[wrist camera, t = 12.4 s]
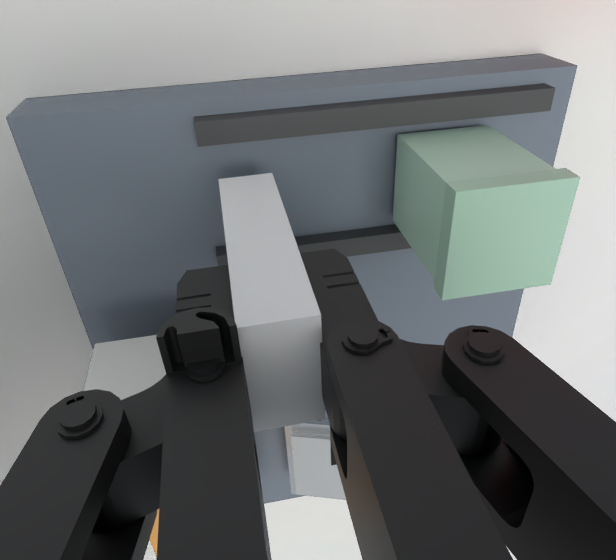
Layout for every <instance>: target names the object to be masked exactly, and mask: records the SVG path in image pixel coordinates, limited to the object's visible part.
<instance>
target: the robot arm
mask: <svg viewBox="0 0 616 560" xmlns="http://www.w3.org/2000/svg"><path fill="white" fill-rule="evenodd" d="M218 180H219V189H220V197H221V206H222V215H223V223H224V232H225V241H226V250H227V258H228V265H222V266H215V267H207V268H200V269H193V270H186V272H185V273H184V275H183V276H182V278H181V279H180V281H179V282H178V283H177V298H176V299H177V301H176V315H175V316H173V317H171V318H169V319H168V320H167V321H166V322H165V323H164V324H163V325H162V326H161V327H160V329H159V331H158V334H157V337H156V340H157V343H158V347H159V350H160V354H161V357H162V361H163V364H164V368H165V371H166V375H165V376H164V377H163V378H162V379H161V380H160V381H158V382H157V383H156V384H154V385H153V386H151V387H150V388H148V389H146V390H144V391H142V392H139V393H137V394H135V395H132V396H130V397H127V398H125V399H123V400H120V398H119V397H117V396H116V395H115V394H113V393H112V392H110V391H105V390H99V389H94V390H87V391H81V392H78V393H76V394H73V395H71V396H68V397H66V398H64V399H62V400H61V401H60V402H58V403H57V404H55V405H54V406H52V407H51V408H50V409H49V410H48V411H47V413H46V414H45V415H44V416H43V417H42V419H41V420H40V421H39V423H38V425H37V426H36V428H35V430H34V431H33V433H32V434H31V436H30V438H29V439H28V441H27V443H26V444H25V446H24V448H23V449H22V451H21V453H20V454H19V456H18V458H17V459H16V461H15V463H14V464H13V466H12V468H11V469H10V471H9V473H8V474H7V476H6V477H5V479H4V481H3V482H2V484H1V486H0V560H143V558H144V555H145V552H146V548H147V545H148V542H149V539H150V535H151V532H152V529H153V526H154V522H155V519H156V516H157V509H159V524H158V543H157V560H271V554H270V546H269V538H268V531H267V523H266V516H265V508H264V501H263V493H262V486H261V478H260V470H259V463H258V455H257V449H256V443H255V436H254V432H258V431H263V430H269V429H274V428H280V427H285V426H290V425H296V424H301V423H307V422H312V421H318V420H323V419H325V408H326V412H327V415H328V419H329V422H330V446H331V466H332V465H337V468H338V471H339V475H340V479H341V482H342V486H343V490H344V493H345V497H346V500H347V504H348V508H349V511H350V515H351V519H352V522H353V526H354V530H355V533H356V537H357V541H358V544H359V548H360V552H361V555H362V559H363V560H513V559H512V557H511V555H510V553H509V551H508V549H507V547H508V548H509V550H510V551H511V552H512V554H513V555H514V556H515V557H516V559H517V560H616V422H615V421H614V420H612V419H611V418H610V417H609V416H608V415H606V414H605V413H604V412H603V411H601V410H600V409H599V408H598V407H596V406H595V405H594V404H593V403H592V402H590V401H589V400H588V399H587V398H585V397H584V396H583V395H582V394H581V393H579V392H578V391H577V390H576V389H574V388H573V387H572V386H571V385H570V384H568V383H567V382H566V381H565V380H563V379H562V378H561V377H560V376H559V375H557V374H556V373H555V372H554V371H552V370H551V369H550V368H549V367H548V366H546V365H545V364H544V363H543V362H541V361H540V360H539V359H538V358H537V357H535V356H534V355H533V354H532V353H530V352H529V351H528V350H527V349H525V348H524V347H523V346H522V345H521V344H519V343H518V342H517V341H516V340H514V339H513V338H512V337H510V336H509V335H507V334H505V333H504V332H502V331H500V330H497V329H494V328H490V327H487V326H476V325H470V326H465V327H460V328H458V329H456V330H454V331H453V332H451V333H449V335H448V337H447V338H446V340H445V342H444V345H434V344H420V343H414V342H408V341H405V340H402V339H399V337H398V335H397V334H396V333H395V332H394V331H393V330H392V328H391V327H389V326H387V325H385V324H383V323H382V322H380V321H378V319H377V317H376V315H375V313H374V311H373V309H372V307H371V305H370V303H369V300H368V298H367V296H366V294H365V292H364V290H363V288H362V286H361V284H359V280H358V278H357V276H356V274H354V270H353V268H352V266H351V264H350V262H349V260H348V258H347V257H345V256H344V255H343V254H341V253H340V252H338V251H337V250H336V249H327V250H319V251H312V252H305V253H300V252H299V249H298V246H297V243H296V240H295V238H294V235H293V232H292V229H291V226H290V223H289V220H288V217H287V214H286V211H285V209H284V206H283V203H282V200H281V197H280V194H279V191H278V188H277V185H276V183H275V180H274V177H273V174H272V173H266V174H257V175H249V176H240V177H232V178H223V179H218ZM506 546H507V547H506Z"/></svg>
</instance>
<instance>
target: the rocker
mask: <svg viewBox="0 0 616 560" xmlns="http://www.w3.org/2000/svg"><path fill="white" fill-rule="evenodd" d="M285 437H286V446H287V456H288V466H289V475H290V485H291V494H297V495H306V496H315V497H324V498H334V499H343V500H346V497H345V493H344V490H343V486H342V482H341V479H340V475H339V471H338V468H337V465H332V466H331V446H330V422H329V419H328V415H327V412H326V408H325V419H323V420H318V421H312V422H307V423H301V424H296V425H290V426H285Z"/></svg>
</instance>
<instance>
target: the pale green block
mask: <svg viewBox="0 0 616 560" xmlns="http://www.w3.org/2000/svg"><path fill="white" fill-rule="evenodd" d="M579 180H580V177H579V176H578V175H576V174H574V173H573V172H571V171H570V170H568V169H566V168H562V169H555V168H554V167H552V166H551V165H549V164H548V163H546V162H545V161H543V160H541V159H540V158H538V157H537V156H535V155H534V154H532V153H531V152H529V151H527V150H526V149H524V148H523V147H521V146H520V145H518V144H517V143H515V142H514V141H512V140H510V139H509V138H507V137H506V136H504V135H503V134H501V133H500V132H498V131H496V130H495V129H493V128H492V127H490V126H489V125H483V126H473V127H464V128H454V129H445V130H435V131H425V132H416V133H406V134H398V135H397V152H396V170H395V187H394V205H393V221H394V223H395V224H396V226H397V227H398V229H399V230H400V232H401V233H402V234H403V236H404V237H405V239H406V240H407V242H408V243H409V245H410V246H411V247H412V249H413V250H414V252H415V253H416V255H417V256H418V258H419V259H420V260H421V262H422V263H423V265H424V266H425V268H426V269H427V271H428V272H429V273H430V275H431V276H432V278H433V279H434V289H435V291H436V292H437V294H438V295H439V297H440V298H441V300H448V299H455V298H462V297H469V296H475V295H482V294H489V293H496V292H503V291H509V290H516V289H523V288H530V287H536V286H543V285H550V284H551V281H552V278H553V274H554V270H555V267H556V263H557V259H558V256H559V252H560V248H561V245H562V241H563V238H564V234H565V230H566V227H567V223H568V219H569V216H570V212H571V209H572V205H573V201H574V198H575V194H576V190H577V187H578V183H579Z"/></svg>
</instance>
